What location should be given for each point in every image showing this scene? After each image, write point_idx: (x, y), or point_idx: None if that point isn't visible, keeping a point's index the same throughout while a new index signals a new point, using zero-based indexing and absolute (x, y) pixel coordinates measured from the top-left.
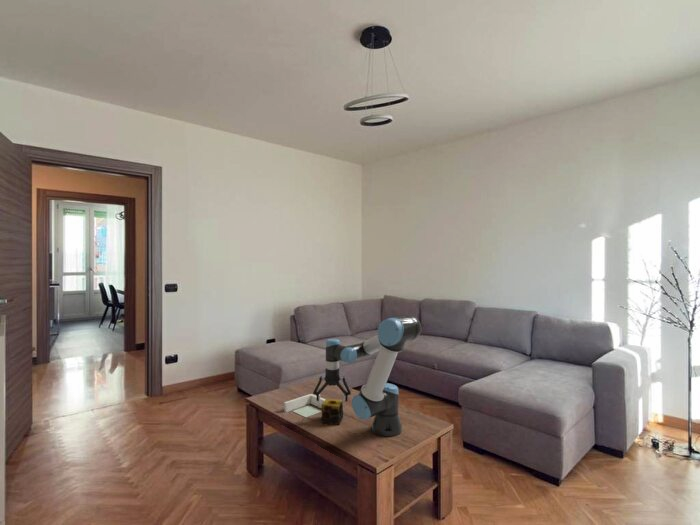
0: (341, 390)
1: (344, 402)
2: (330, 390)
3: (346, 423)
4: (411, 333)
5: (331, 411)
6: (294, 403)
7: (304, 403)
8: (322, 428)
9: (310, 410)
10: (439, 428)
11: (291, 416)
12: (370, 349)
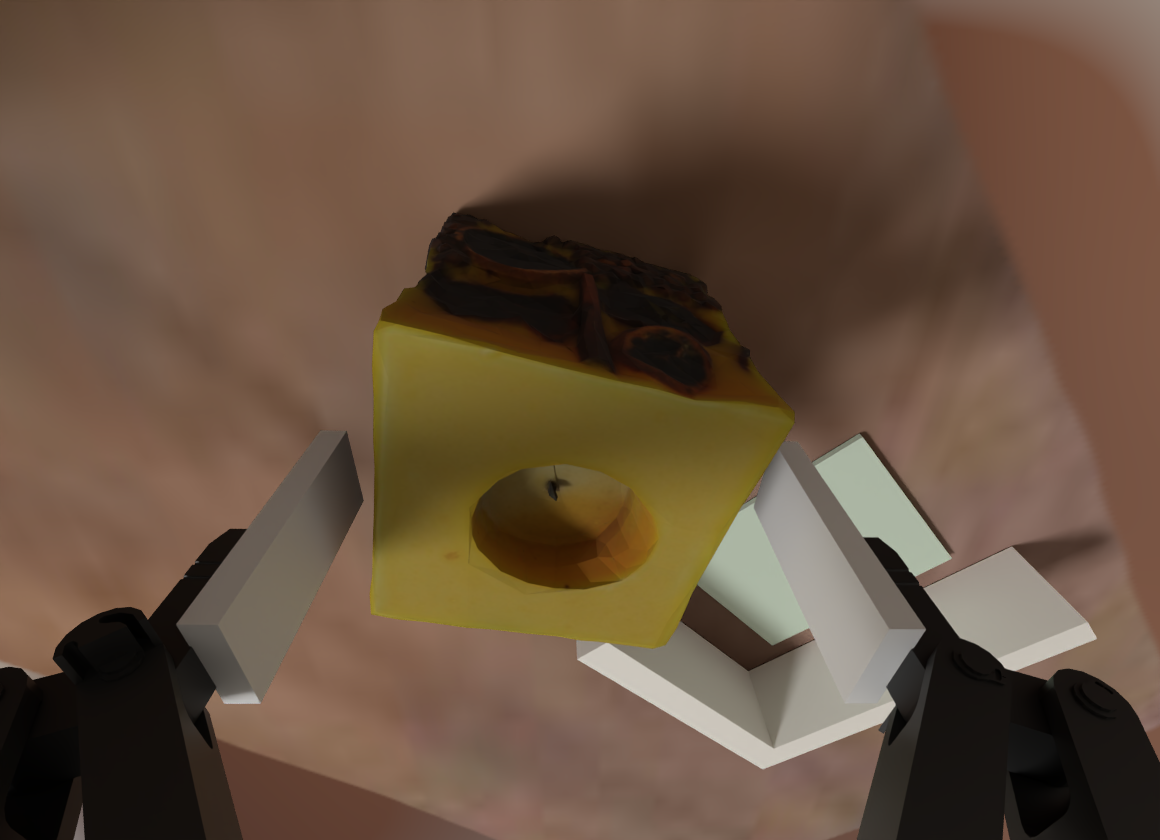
0: (197, 823)
1: (286, 500)
2: (581, 809)
3: (357, 266)
4: None
5: (569, 324)
6: None
7: (817, 661)
8: (703, 98)
9: (778, 567)
10: None
11: (998, 464)
12: None
